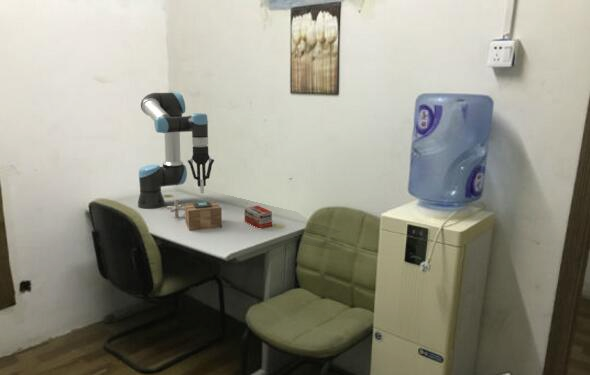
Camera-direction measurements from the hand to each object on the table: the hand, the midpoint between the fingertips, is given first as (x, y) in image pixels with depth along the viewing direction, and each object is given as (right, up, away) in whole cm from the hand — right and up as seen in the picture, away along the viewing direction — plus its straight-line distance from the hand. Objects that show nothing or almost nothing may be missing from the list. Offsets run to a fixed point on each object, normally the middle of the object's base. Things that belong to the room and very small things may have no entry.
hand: (201, 192), depth 226 cm
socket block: (0, -16, +3) cm, 17 cm away
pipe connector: (-17, -14, +16) cm, 27 cm away
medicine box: (+28, -17, +6) cm, 33 cm away
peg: (0, -13, +3) cm, 14 cm away
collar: (0, -7, +1) cm, 7 cm away
